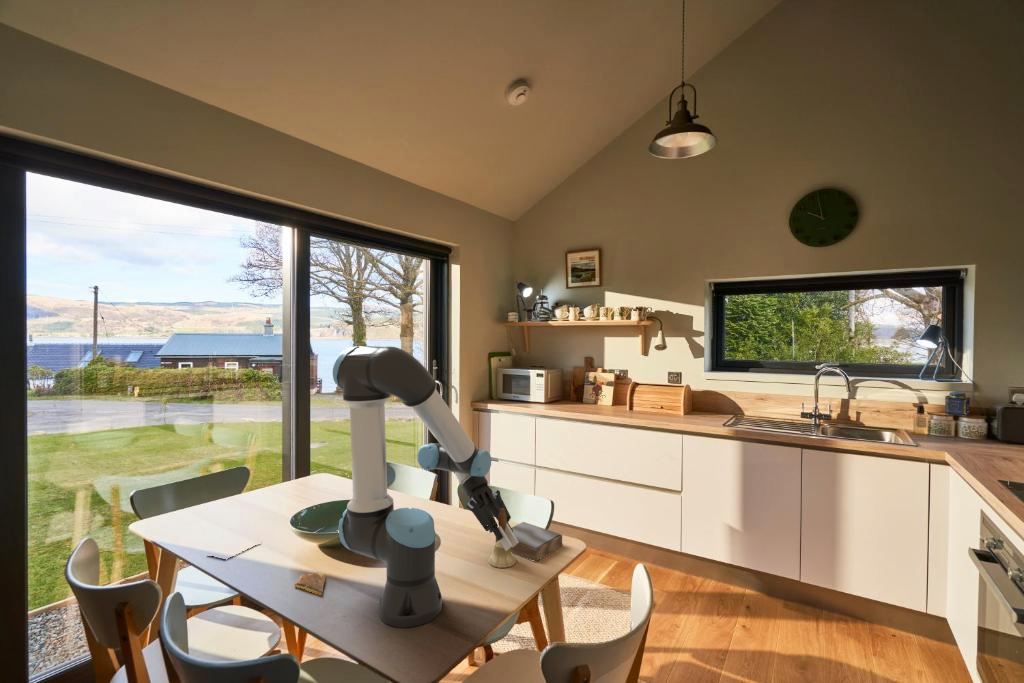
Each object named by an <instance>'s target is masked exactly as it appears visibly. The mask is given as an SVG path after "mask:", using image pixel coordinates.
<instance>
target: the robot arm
mask: <svg viewBox="0 0 1024 683" xmlns="http://www.w3.org/2000/svg"><path fill="white" fill-rule="evenodd" d="M332 378H333V379H332V380H333V381H334V383H335V385H337V387H338V388H339V389H341V390H342V401H343V402H345V404H347V405H348V407H349V420H350V422H349V423H350V427H349V428H350V447H351V448H350V453H351V454H350V455H351V482H352V498H351V499H350V500H349V501H348V502H347V505H346V509H345V510H344V511H343V513H342V518H340V519H339V521H338V528H337V529H338V533H339V538H338V539H339V540H340V542H341V544H342V545H343V546H344V547H345V548H346V549H348V550H349V551H351V552H353V553H355V554H357V555H361V556H362V555H363V556H365V557H368V558H371V559H374V560H377V561H380V562H383V563H385V565H386V580H385V584H384V588H383V591H382V592H383V593H382V595H381V598H380V600H379V604H378V605H379V606H378V608H379V609H378V610H379V611H378V614H379V615H378V616H379V618H380V619H381V621H382V622H383V623H385V624H386V625H389V626H391V627H396V628H414V627H418V626H421V625H424V624H426V623H429V622H431V621H432V620H434V619H436V617H438V615H439V614H440V613H441V611H442V608H443V597H442V592H441V589H440V586H439V584H438V581H437V577H436V572H435V571H436V568H435V567H436V529H435V521H434V518H433V517H432V515H431V514H430V513H429V512H427V511H426V510H423V509H420V508H415V507H412V508H410V507H400V508H397V509H394V507H395V506H394V505H395V504H394V498H393V497H392V496H391V495H389V493H388V478H387V477H388V476H387V472H388V471H387V447H386V446H387V445H386V414H385V413H386V410H385V405H386V403H387V402H388V400H390V398H391V396H394V397H396V398H397V399H398V400H400V401H401V402H402V403H403V405H404V406H406V407H408V408H412V410H413V411H414V412H415V414H416V415H417V416H418V418H419V419H420V421H422V423H423V424H424V425H425V427H426V428H427V429H428V431H429V432H430V433H431V434H432V435H433V437H434V438H435V439H436V441H437V442H438V443H437V442H435V443H432V442H430V443H426V444H423V445H421V446H420V447H419V449H418V452H417V458H416V459H417V462H418V464H419V467H420V468H421V469H423V470H426V471H427V470H430V471H433V470H441V471H445V472H446V471H447V472H452V473H453V474H454V475H455V476H456V479H457V480H458V482H459V484H460V485H462V486H461V487H462V490H463V491H464V492H465V494H466V495H467V496H468V497H469V499H470V500H469V501H468V502H467V504H466V506H465V507H466V508H467V509H469V511H471V512H472V514H473V515H474V516H475V518H476V519H477V520H478V522H479V524H480V525H481V526H482V528H483V529H484V530H485V532H489V533H493V534H494V536H495V539H496V538H497V539H498V540H500V542H501V544H502V546H503V547H504V549H505V551H507V550H508V549H509V548H510V547H512V548H513V547H514V546H515V545H516V544H517V543H519V542H518V540H517V538H516V537H515V535H514V534H513V530H512V526H511V525H510V523H509V522H510V520H511V519H512V516H511V514H510V512H509V510H508V508H507V507H506V504H505V502H504V501H503V498H502V497H501V492H500V490H499V489H497V490H496V491H495V490H492V488H491V487H489V484H488V480H487V478H486V475H488V474H489V471H490V469H491V467H492V456H491V454H490V452H489V451H487V450H483V448H480V449H479V448H478V447H477V446H476V445H475V444H474V442H473V441H472V439H471V437H470V436H469V435H468V434H467V432H466V431H465V429H464V428H463V426H462V424H461V423H460V422H459V421H458V419H457V418H456V416H455V415H454V413H453V412H452V411H451V409H450V407H449V405H448V404H447V403H446V401H445V400H444V398H443V397H442V395H440V393H439V392H438V389H437V382H436V380H435V379H434V377H433V376H432V374H431V373H430V372H429V370H428V369H427V368H426V367H425V366H424V365H423V364H422V363H421V362H420V361H419V360H418V359H417V358H415V357H414V356H413V355H412V354H411V353H409V352H408V351H406V350H404V349H402V348H400V347H396V346H372V345H358V346H357V345H356V346H350V347H348V348H346V349H344V350H343V351H342V352H341V353H340V354H339V355H338V356H337V358H336V359H335V360H334V363H333V366H332ZM500 508H504V509H505V512H506V516H507V522H506V527H505V532H504V531H503V529H502V527H501V526H499V524H498V523H497V521H498V515H499V512H500ZM495 518H496V519H495ZM496 520H497V521H496Z"/></svg>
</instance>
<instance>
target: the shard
mask: <svg viewBox="0 0 1024 683" xmlns="http://www.w3.org/2000/svg"><path fill="white" fill-rule="evenodd" d="M325 581H326V573H321V572H314V573H308V574H302V575H300V576H299V578H298V580H297V582H296V583H295V584H294V585H293V587H294V588H295V587H297V588H296V589H300V588H301V590H304V589H305V590H304V591H306V590H307V591H306V592H308V591H309V592H308V593H310V592H312V593H311V594H313V593H315V594H314V595H316V594H318V595H317V596H321V595H322V596H323V590H324V586H325Z"/></svg>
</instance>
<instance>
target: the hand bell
mask: <svg viewBox="0 0 1024 683" xmlns="http://www.w3.org/2000/svg"><path fill="white" fill-rule="evenodd" d="M497 522H498V523H497V525H498V527H499V526H501V527H502V529H503V531H504V532H505V527H506V522H507V516H506V512H505V509H504V508H500V512H499V515H498V520H497ZM487 561H488V564H489V565H490V566H492V567H493V568H499V569H506V568H511V567H512V566H515V564H516V563H517V559H516V557H515V556H514V555H513V553H511V550H510V548H509V549H508V550H507V551H505V549H504V547H503V546H502V544H501V542H500V541H497V542H496V541H495V543H494V549H493V553H492V554H491V555H490V556H489V558H488V560H487Z"/></svg>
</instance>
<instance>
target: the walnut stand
mask: <svg viewBox="0 0 1024 683" xmlns="http://www.w3.org/2000/svg"><path fill="white" fill-rule="evenodd" d="M511 528H512V530H513V534H514V535H515V537H516V538H517V540H518V542H519V543H517V544H516V545H515V546H514V547H513V548H512V547H510V550H511V552H512V554H513V553H514V555H516V556H518V555H519V557H521V556H522V557H521V558H523V557H525V558H524V559H526V558H528V559H527V560H529V559H531V560H534V561H537V560H539V559H540V558H542V557H544V556H545V557H547V556H549V555H550V554H551V552H552V553H554V552H555V551H557V550H558V549H560V548H561V547H563V534H561V533H559V532H555V531H553V530H549V529H547V528H544V527H540V526H538V525H537V526H536V525H534V524H532V523H531V524H530V523H529V522H528V523H527V522H525V521H522V522H519V523H518V524H516V525H514V526H511ZM497 541H500V540H498V539H497V538H496V537H495V543H496V542H497ZM553 551H554V552H553ZM549 553H550V554H549ZM548 554H549V555H548ZM546 555H547V556H546ZM545 557H544V558H545ZM542 559H543V558H542ZM531 560H530V561H531ZM540 560H541V559H540ZM540 560H539V561H540ZM534 561H533V562H534ZM537 562H538V561H537Z"/></svg>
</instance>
